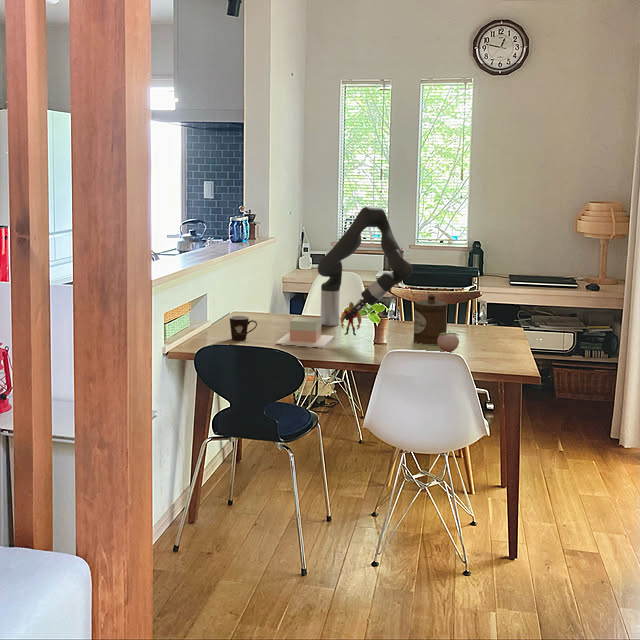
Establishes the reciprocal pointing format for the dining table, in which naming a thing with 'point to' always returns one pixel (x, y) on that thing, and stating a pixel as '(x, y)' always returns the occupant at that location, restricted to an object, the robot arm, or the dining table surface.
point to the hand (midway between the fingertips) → (346, 317)
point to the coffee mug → (240, 327)
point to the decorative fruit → (448, 341)
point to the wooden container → (429, 320)
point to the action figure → (350, 319)
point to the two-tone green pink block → (305, 333)
